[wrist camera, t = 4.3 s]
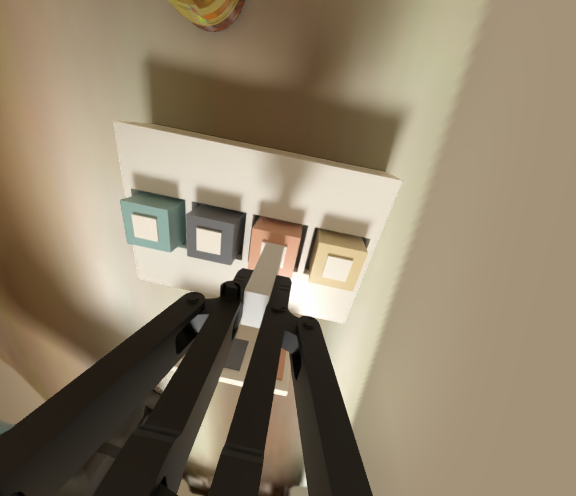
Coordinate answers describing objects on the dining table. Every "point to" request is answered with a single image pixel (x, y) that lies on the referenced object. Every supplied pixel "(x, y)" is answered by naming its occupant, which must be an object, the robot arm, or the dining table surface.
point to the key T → (336, 259)
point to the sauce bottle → (209, 12)
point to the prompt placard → (242, 355)
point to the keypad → (253, 204)
